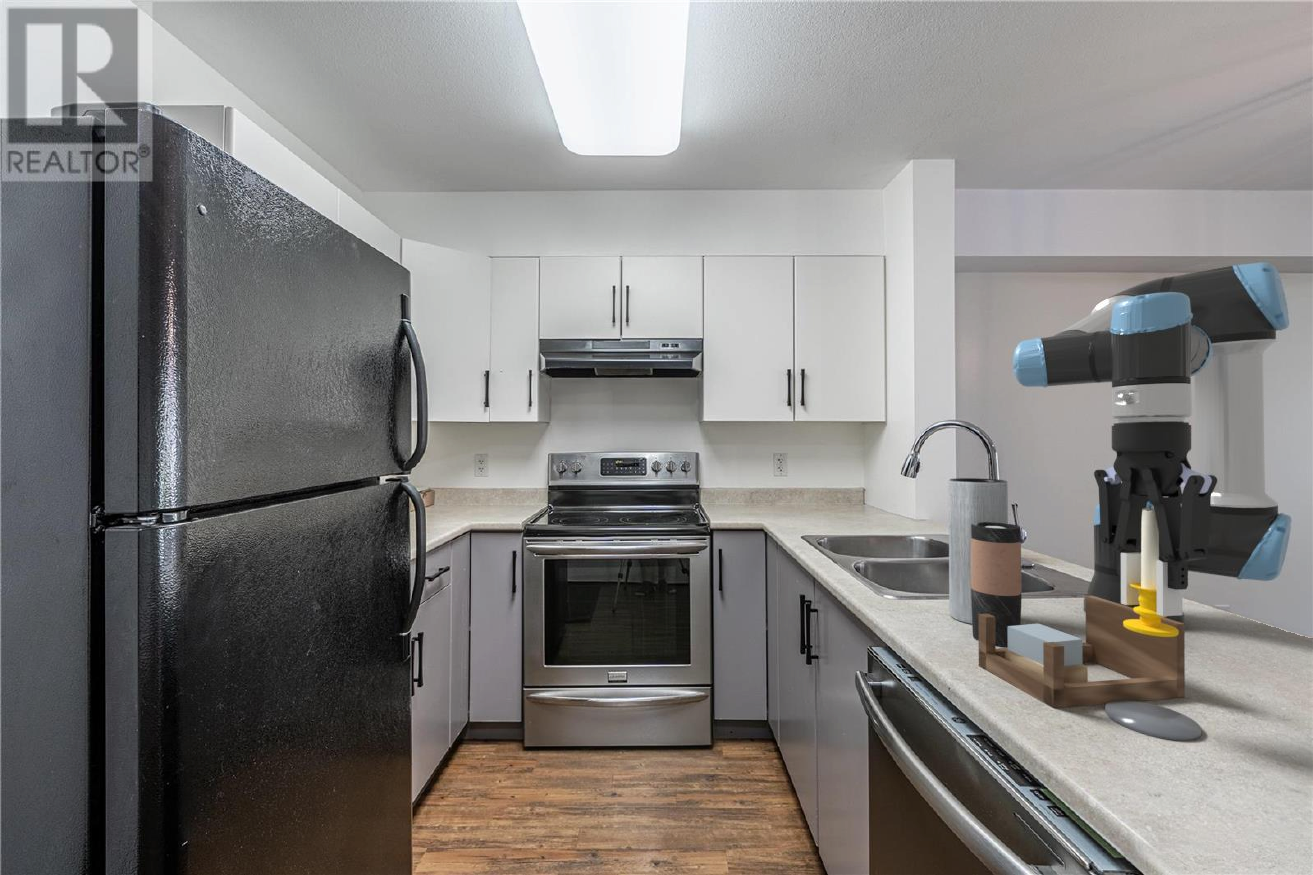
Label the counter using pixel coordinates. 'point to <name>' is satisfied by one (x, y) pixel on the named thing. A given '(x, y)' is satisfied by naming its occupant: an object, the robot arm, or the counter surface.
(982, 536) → the travel mug
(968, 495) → the vase
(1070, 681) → the offcut lower
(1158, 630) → the candle
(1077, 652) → the offcut upper
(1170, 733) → the disc
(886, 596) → the counter surface
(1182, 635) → the frame
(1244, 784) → the counter surface
